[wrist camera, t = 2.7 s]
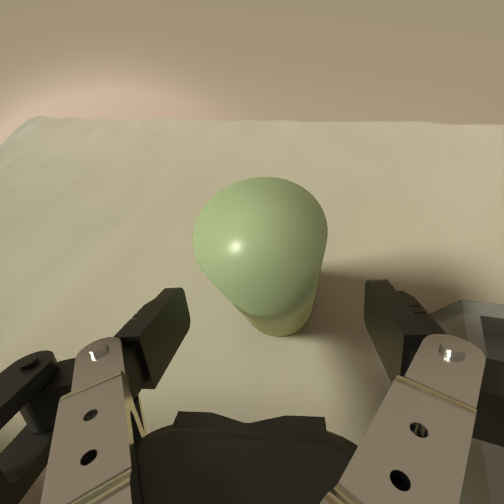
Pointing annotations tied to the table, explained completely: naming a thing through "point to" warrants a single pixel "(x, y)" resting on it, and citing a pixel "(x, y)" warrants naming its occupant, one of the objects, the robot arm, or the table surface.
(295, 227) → the pale green rounded knob
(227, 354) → the table surface
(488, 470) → the bin
